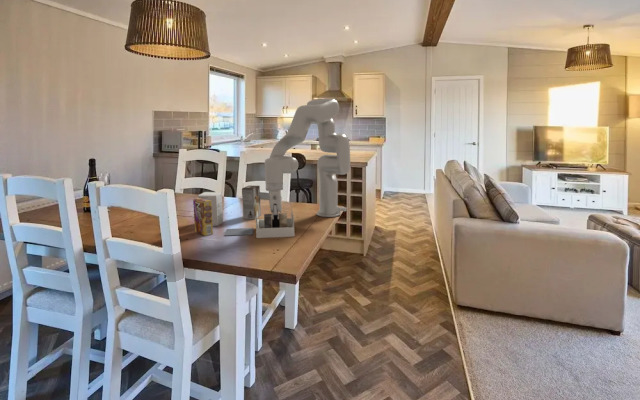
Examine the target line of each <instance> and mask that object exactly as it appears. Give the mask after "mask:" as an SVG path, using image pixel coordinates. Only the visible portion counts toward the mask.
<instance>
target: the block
mask: <svg viewBox="0 0 640 400" xmlns="http://www.w3.org/2000/svg"><path fill="white" fill-rule="evenodd" d="M277 218H278V217H277ZM287 218H288V215H287V212H283V213H282V212H281V213H280V212H279V223H280V228H285V227H287ZM263 219H264V225H265V228H272V219H273V217H272V213H265V214H264V215H263Z"/></svg>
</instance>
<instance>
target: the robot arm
mask: <svg viewBox="0 0 640 400" xmlns="http://www.w3.org/2000/svg"><path fill="white" fill-rule="evenodd" d="M339 112H340V104H339V102H338V100H336V99H335V98H326V99H325V98H323V99H321V98H320V99H312V100H309V101H308V102H307V103H306V105H305V104H304V105H300V106H299V107H297V109H296V110H295V113H294V115H293V118H292V120H291V123H290V125H289V127H288V131H287V132H286V134H284V136H283V137H281V138H280V139H279V140H278V141H277V143H275V145H273V146H274V147H273V148H272V150H271V153H270V156H269V158H266V159H264V173H265V174H264V177H265V178H264V181H265V191H266V192H268V200H269V201H268V203H269V209H270V214H272V217H273V219H272V228H280V223H279V213H282V208H283V207H282V204H283V203H282V190H284V181H283V179H284V178H283V175H284V174H293V173H295V172H296V171H298V168H299V162H298V161H299V160H298V159H296V157H293V156H286V153H287V152H288V150H290V149H292V148H294V147H295V146H298V145H299V144H302V143H304V141H305V140H306V138H307V135H308V132H309V130H310V127H311V125H313V124H315V125H317V131H318V146H319V149H320V152H323V153H327V154H323V155H321V156H320V157H318V159H317V169H318V177H319V178H318V179H319V182H318V183H319V210H318V211H317V212H316V215H317V216H318V217H321V218H322V217H323V218H333V217H334V218H336V217H338V216H340V215H341V212H347V207H345V206H344V207H343V206H339V205H338V202H339V201H338V193H339V191H338V186H339V184H338V183H339V182H338V178H337V176H336V175H341V176H343V175H346V174H348V173H349V171H350V169H351V149H350V147H351V145H350V140H349V137H348V136H346V134H343V133H336V126H335V125H336V124H335V121H334V118H335V117H336V116H337V115H338V114H339ZM328 153H331V154H328ZM277 217H278V218H277Z"/></svg>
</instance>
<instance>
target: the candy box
mask: <svg viewBox="0 0 640 400" xmlns="http://www.w3.org/2000/svg"><path fill="white" fill-rule="evenodd" d="M192 202H193V219H194V233H196V234H199V235H203V236H204V237H205V236H211V235H213V234H214V231H213V230H214V229H213V227H214V226H212V203H211V200H207V199H202V198H198V197H197V198H193V199H192Z"/></svg>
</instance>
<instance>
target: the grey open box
mask: <svg viewBox="0 0 640 400" xmlns="http://www.w3.org/2000/svg"><path fill="white" fill-rule="evenodd" d="M290 211H291V213H290V214H291V215H290V216H291V217H287V227H285V228H265V225H264V218H262V219H259V217H258V211H257V215H256V219H255V230H256V231H255V233H256V234H255V235H256V239H264V238H267V239H268V238H287V237H288V238H289V237H290V238H291V237H292V238H293V237H295V217H294V213H293V210H292V209H291V210H290Z"/></svg>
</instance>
